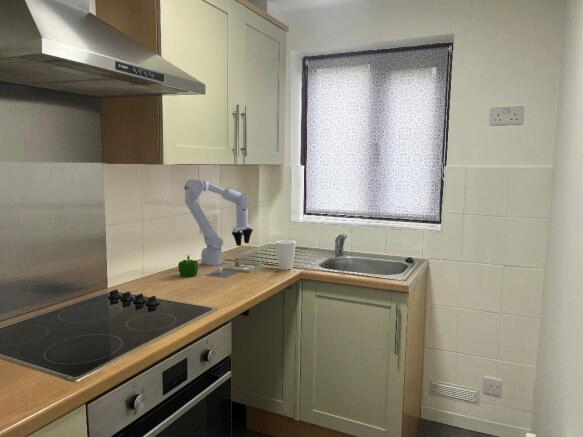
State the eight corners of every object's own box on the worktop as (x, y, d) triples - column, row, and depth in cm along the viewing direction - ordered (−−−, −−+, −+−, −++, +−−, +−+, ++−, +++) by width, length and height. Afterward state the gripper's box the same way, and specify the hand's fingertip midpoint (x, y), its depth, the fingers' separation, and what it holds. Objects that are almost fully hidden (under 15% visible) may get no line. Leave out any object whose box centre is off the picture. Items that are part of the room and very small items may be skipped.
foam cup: (287, 271, 207) (287, 244, 206) (272, 269, 213) (271, 242, 211) (299, 268, 215) (299, 241, 213) (284, 265, 220) (284, 239, 219)
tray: (223, 272, 206) (223, 267, 206) (239, 266, 219) (239, 261, 218) (249, 275, 201) (249, 270, 200) (263, 269, 213) (263, 263, 213)
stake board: (204, 278, 196) (204, 268, 195) (218, 273, 206) (218, 263, 205) (226, 281, 191) (225, 271, 191) (239, 275, 201) (239, 265, 200)
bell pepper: (193, 281, 191) (193, 258, 190) (176, 280, 193) (175, 257, 192) (201, 276, 199) (201, 254, 198) (184, 275, 201) (183, 254, 200)
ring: (246, 272, 205) (245, 261, 204) (231, 270, 208) (231, 259, 207) (254, 268, 212) (254, 257, 211) (240, 266, 215) (239, 256, 215)
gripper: (241, 219, 216) (242, 247, 217) (256, 216, 229) (256, 242, 230) (229, 219, 219) (229, 246, 220) (244, 215, 232) (245, 241, 233)
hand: (242, 244), depth 226 cm, fingers open, 7 cm apart
